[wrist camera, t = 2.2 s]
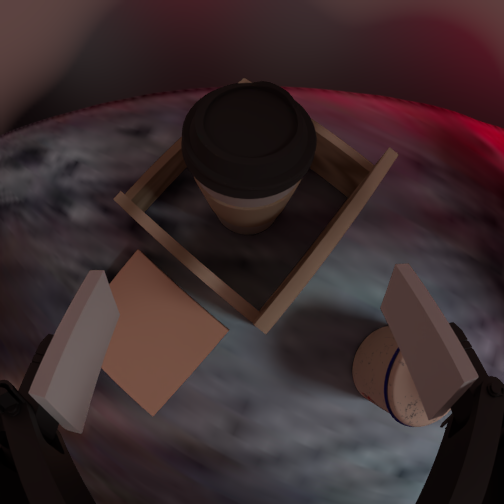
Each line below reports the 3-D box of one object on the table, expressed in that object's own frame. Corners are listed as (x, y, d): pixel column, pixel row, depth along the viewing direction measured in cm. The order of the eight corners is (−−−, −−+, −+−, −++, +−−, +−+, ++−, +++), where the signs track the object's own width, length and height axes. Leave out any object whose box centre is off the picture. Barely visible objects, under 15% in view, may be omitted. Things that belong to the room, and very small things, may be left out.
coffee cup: (256, 263, 30) (268, 213, 15) (186, 212, 30) (144, 132, 16) (305, 196, 31) (348, 110, 17) (238, 152, 32) (236, 51, 17)
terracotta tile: (229, 329, 28) (228, 330, 27) (157, 411, 26) (153, 416, 25) (142, 252, 29) (137, 249, 28) (78, 334, 27) (71, 334, 26)
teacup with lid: (343, 406, 27) (393, 447, 15) (352, 322, 29) (411, 325, 17) (432, 396, 27) (496, 418, 15) (441, 322, 29) (510, 320, 17)
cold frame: (359, 197, 31) (398, 154, 22) (258, 327, 28) (266, 334, 18) (237, 110, 33) (236, 51, 24) (131, 215, 30) (90, 176, 20)
